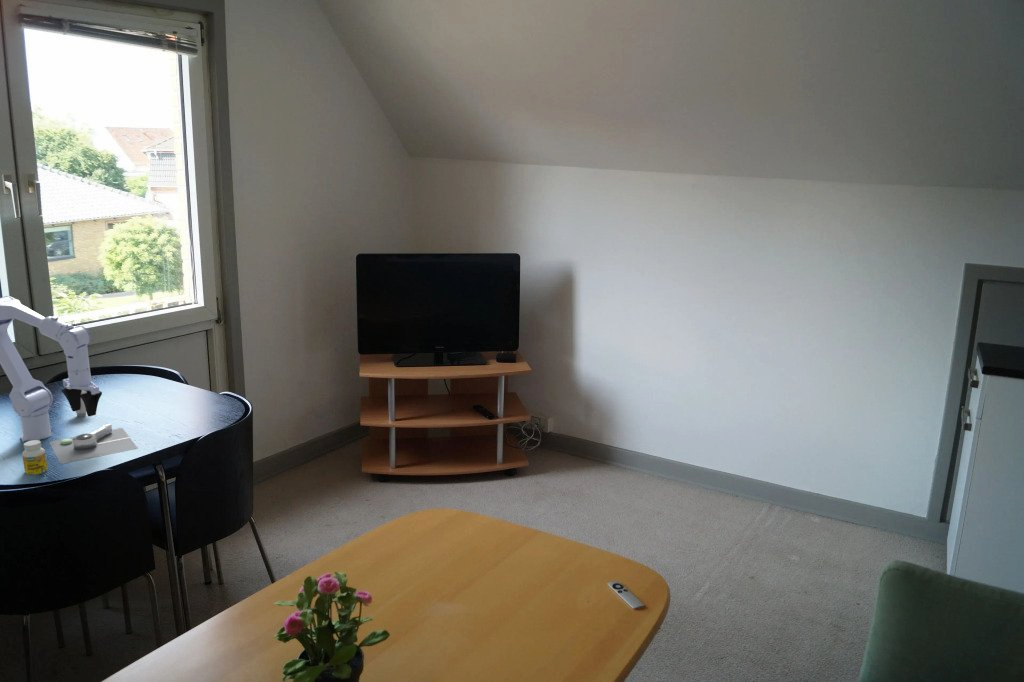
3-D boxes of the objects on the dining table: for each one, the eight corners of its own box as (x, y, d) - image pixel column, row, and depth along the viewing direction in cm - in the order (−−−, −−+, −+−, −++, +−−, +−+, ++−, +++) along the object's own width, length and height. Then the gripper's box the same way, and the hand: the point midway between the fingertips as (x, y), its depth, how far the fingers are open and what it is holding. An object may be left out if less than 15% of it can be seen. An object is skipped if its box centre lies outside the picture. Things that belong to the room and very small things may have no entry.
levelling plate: (49, 446, 235) (48, 439, 235) (122, 432, 247) (121, 425, 247) (61, 469, 220) (60, 461, 220) (138, 453, 232) (137, 445, 231)
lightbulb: (95, 419, 257) (91, 387, 254) (75, 424, 253) (71, 391, 250) (88, 415, 261) (84, 383, 258) (68, 419, 257) (64, 387, 254)
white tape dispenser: (88, 450, 229) (87, 440, 228) (69, 449, 230) (68, 439, 229) (118, 432, 243) (117, 423, 242) (100, 431, 244) (99, 421, 243)
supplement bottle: (47, 470, 219) (43, 437, 217) (49, 477, 215) (44, 444, 213) (25, 474, 217) (20, 441, 214) (26, 481, 212) (21, 448, 210)
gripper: (50, 367, 231) (56, 411, 234) (80, 376, 224) (85, 421, 227) (74, 362, 237) (79, 405, 240) (103, 370, 230) (108, 414, 233)
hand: (84, 412), depth 234 cm, fingers open, 7 cm apart
